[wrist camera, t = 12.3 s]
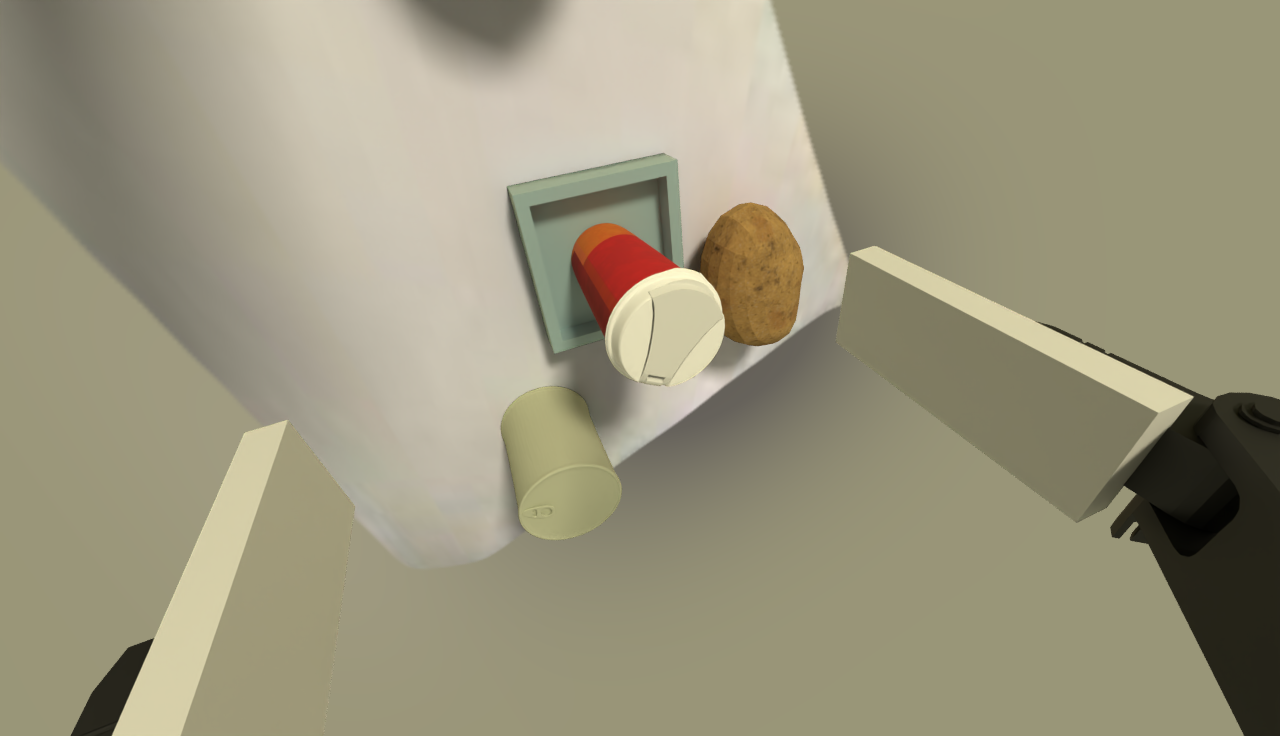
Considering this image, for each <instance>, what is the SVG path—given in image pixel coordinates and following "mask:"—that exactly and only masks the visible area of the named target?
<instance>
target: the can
mask: <svg viewBox="0 0 1280 736" xmlns="http://www.w3.org/2000/svg"><path fill="white" fill-rule="evenodd" d="M501 434H502V437H503V439H504V441H505V445H506V449H507V454H508V458H509V463H510V468H511V473H512V478H513V483H514V489H515V494H516V500H517V505H518V516H519V520H520V523H521V525H522V527H523V528H524V529H525V530H526V531H527V532H528V533H530V534H531V535H533V536H535V537H538V538H541V539H547V540H563V539H569V538H574V537H577V536H580V535H582V534H585V533H587V532H589V531H591V530H593V529H594V528H596V527H598V526H599V525H600V524H602V523H603V522H604V521H606V520H607V519H608V518H609V517H610V516H611V515H612V513H613V512H614V511H615V509H616V508H617V506H618V504H619V501H620V498H621V494H622V487H621V483H620V480H619V478H618V476H617V475H616V474H615V471H614V469H613V467H612V465H611V463H610V460H609V458H608V456H607V454H606V452H605V449H604V447H603V445H602V443H601V440H600V438H599V436H598V434H597V431H596V429H595V427H594V424H593V422H592V420H591V417H590V415H589V410H588V406H587V404H586V402H585V401H584V399H583V398H582V397H581V396H580V395H578V394H577V393H576V392H574V391H572V390H570V389H567V388H563V387H555V386H551V387H542V388H538V389H534V390H532V391H529V392H527V393H525V394H523V395H522V396H520V397H519V398H517V399H516V400H515V401H514V402H513V403H512V404H511V405H510V406H509V407H508V409H507V410H506V412H505V414H504V416H503V419H502V423H501Z"/></svg>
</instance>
